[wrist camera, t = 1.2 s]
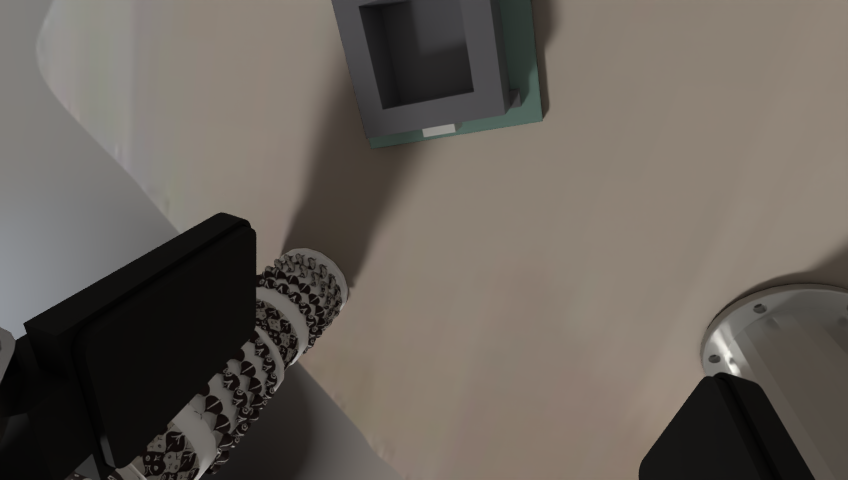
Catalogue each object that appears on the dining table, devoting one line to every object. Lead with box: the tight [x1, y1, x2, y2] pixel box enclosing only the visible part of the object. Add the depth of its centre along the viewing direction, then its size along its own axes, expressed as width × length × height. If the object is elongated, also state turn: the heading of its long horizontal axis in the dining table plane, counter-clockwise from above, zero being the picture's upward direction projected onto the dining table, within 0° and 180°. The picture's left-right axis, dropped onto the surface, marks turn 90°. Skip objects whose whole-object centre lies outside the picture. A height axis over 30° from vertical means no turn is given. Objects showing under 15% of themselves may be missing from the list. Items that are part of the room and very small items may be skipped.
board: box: [369, 0, 543, 149], centre depth 31 cm, size 14×13×2 cm
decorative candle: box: [65, 248, 348, 480], centre depth 34 cm, size 9×9×25 cm
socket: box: [331, 0, 511, 139], centre depth 29 cm, size 10×11×4 cm
